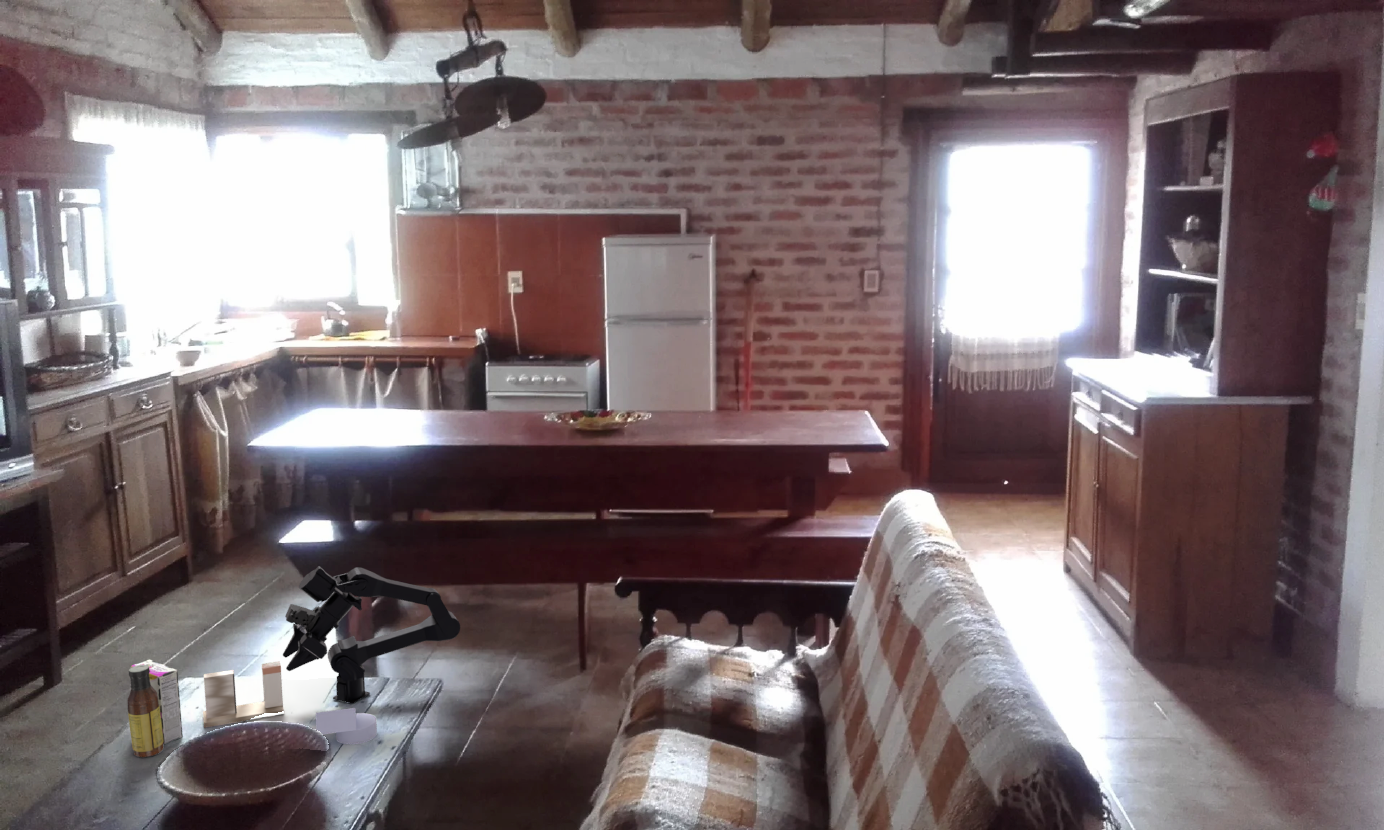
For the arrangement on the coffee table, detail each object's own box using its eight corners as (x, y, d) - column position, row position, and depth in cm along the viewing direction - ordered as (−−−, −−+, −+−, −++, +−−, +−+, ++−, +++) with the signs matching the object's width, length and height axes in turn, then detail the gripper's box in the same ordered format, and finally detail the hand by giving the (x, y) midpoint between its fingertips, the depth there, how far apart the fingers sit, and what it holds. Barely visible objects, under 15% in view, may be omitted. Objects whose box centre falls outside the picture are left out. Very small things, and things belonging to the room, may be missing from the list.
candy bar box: (134, 733, 251) (129, 665, 248) (155, 725, 255) (149, 658, 253) (163, 745, 245) (157, 676, 242) (183, 737, 249) (178, 668, 247)
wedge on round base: (317, 749, 244) (377, 741, 248) (315, 720, 243) (376, 713, 247) (317, 731, 252) (376, 724, 256) (315, 704, 251) (374, 697, 255)
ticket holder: (281, 702, 268) (279, 659, 266) (284, 714, 261) (281, 669, 259) (203, 715, 260) (200, 671, 258) (204, 727, 254) (200, 681, 252)
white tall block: (282, 700, 266) (279, 661, 264) (283, 705, 263) (280, 665, 261) (264, 703, 264) (261, 663, 262) (265, 708, 261) (262, 668, 259)
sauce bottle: (158, 743, 246) (151, 659, 243) (168, 752, 242) (162, 666, 239) (127, 752, 242) (120, 667, 239) (137, 762, 237) (129, 675, 234)
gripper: (301, 582, 271) (256, 631, 268) (309, 605, 254) (261, 657, 251) (336, 608, 276) (292, 656, 273) (346, 632, 259) (299, 684, 256)
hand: (285, 662), depth 263 cm, fingers open, 9 cm apart
